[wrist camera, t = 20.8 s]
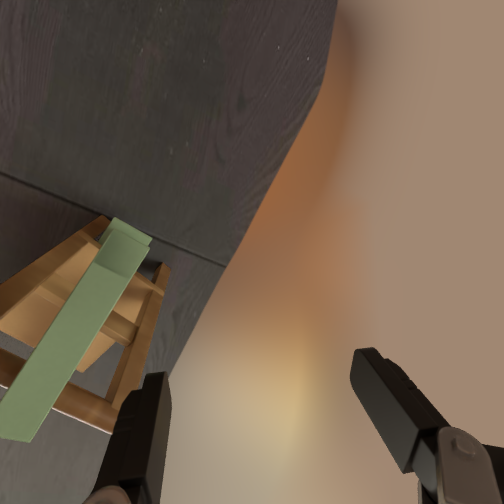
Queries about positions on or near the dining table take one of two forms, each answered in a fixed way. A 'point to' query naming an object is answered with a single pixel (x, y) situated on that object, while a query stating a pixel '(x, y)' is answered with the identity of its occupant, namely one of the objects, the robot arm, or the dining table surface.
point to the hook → (72, 331)
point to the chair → (113, 330)
